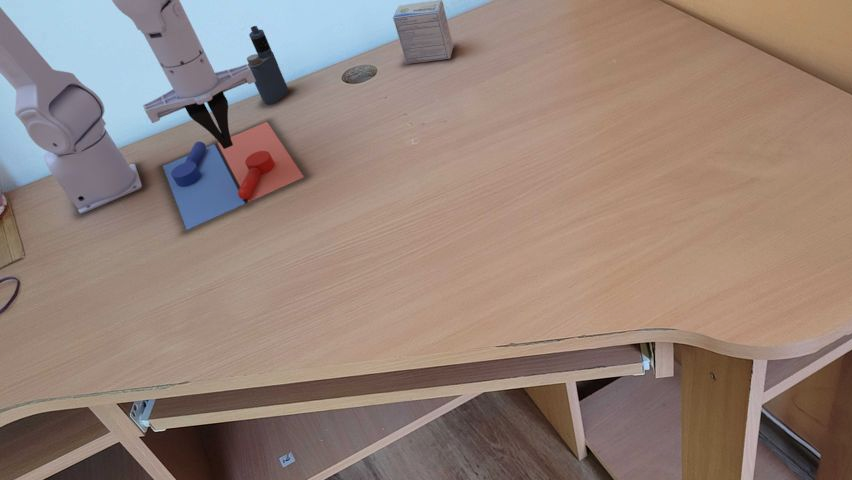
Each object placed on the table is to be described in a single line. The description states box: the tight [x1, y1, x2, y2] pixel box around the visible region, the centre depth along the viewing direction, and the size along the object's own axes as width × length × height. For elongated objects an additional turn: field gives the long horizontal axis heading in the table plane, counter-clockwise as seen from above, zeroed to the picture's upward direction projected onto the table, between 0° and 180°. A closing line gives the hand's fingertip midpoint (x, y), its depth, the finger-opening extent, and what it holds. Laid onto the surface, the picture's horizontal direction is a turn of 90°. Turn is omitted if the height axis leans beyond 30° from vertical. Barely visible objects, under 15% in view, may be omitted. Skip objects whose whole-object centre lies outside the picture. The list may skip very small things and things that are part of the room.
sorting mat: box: [162, 121, 305, 231], centre depth 107 cm, size 18×20×1 cm
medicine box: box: [392, 0, 454, 65], centre depth 120 cm, size 8×4×9 cm, turn 84°
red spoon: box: [238, 151, 275, 200], centre depth 103 cm, size 10×4×2 cm, turn 176°
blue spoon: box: [171, 140, 207, 187], centre depth 109 cm, size 10×4×2 cm, turn 1°
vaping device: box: [246, 25, 290, 105], centre depth 118 cm, size 3×5×12 cm, turn 150°
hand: (227, 144), depth 101 cm, fingers closed
